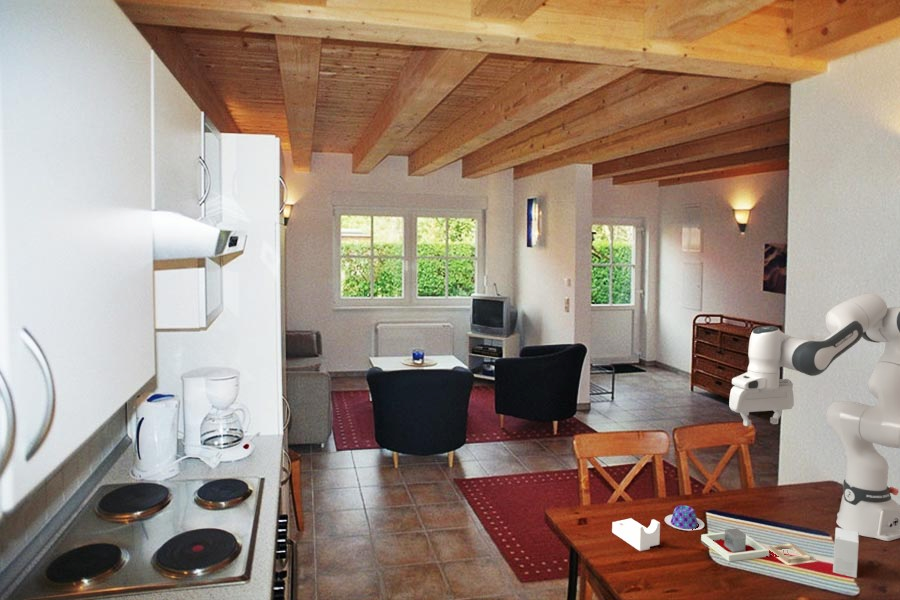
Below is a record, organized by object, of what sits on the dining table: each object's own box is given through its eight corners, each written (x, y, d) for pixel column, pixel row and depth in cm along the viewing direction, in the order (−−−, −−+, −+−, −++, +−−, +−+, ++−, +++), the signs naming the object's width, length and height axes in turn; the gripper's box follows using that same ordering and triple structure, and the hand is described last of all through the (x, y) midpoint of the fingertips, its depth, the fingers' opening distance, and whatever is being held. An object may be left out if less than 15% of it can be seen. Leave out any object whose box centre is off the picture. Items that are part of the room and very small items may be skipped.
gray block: (736, 544, 193) (737, 528, 193) (745, 551, 189) (745, 534, 189) (724, 546, 192) (725, 529, 192) (732, 552, 189) (733, 535, 188)
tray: (739, 538, 199) (739, 530, 198) (768, 558, 186) (769, 550, 186) (701, 542, 196) (701, 534, 196) (728, 564, 183) (729, 555, 183)
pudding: (695, 536, 200) (695, 520, 200) (658, 524, 208) (658, 508, 208) (710, 523, 209) (711, 508, 209) (674, 513, 217) (674, 497, 217)
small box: (856, 580, 175) (859, 543, 173) (832, 575, 178) (834, 537, 176) (856, 567, 181) (859, 531, 180) (833, 562, 184) (835, 526, 183)
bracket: (659, 547, 193) (660, 522, 193) (639, 552, 191) (640, 527, 190) (630, 529, 205) (631, 505, 205) (612, 533, 203) (612, 509, 202)
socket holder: (792, 547, 193) (792, 541, 193) (818, 563, 183) (818, 557, 183) (762, 550, 191) (763, 544, 191) (787, 567, 181) (787, 561, 181)
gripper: (785, 376, 203) (782, 419, 205) (727, 379, 199) (724, 423, 200) (800, 380, 197) (797, 425, 198) (740, 384, 193) (738, 429, 194)
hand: (760, 424), depth 199 cm, fingers open, 8 cm apart
